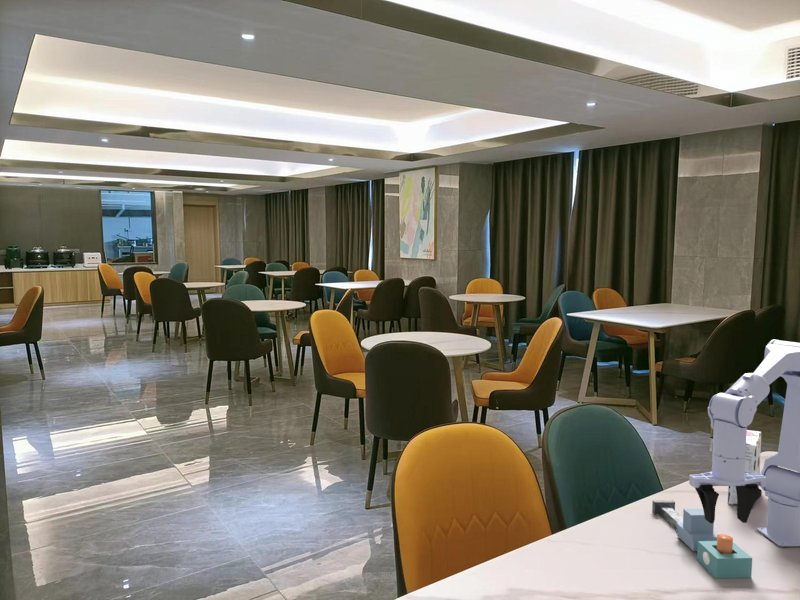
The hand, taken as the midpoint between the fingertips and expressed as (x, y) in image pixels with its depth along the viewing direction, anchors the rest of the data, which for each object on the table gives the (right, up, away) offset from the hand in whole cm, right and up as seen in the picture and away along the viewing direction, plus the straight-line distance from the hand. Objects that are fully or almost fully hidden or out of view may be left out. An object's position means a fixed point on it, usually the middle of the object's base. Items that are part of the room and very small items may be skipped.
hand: (725, 520), depth 120 cm
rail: (0, -9, +16) cm, 18 cm away
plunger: (0, -7, +1) cm, 7 cm away
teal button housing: (0, -10, +1) cm, 10 cm away
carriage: (0, -9, +11) cm, 14 cm away
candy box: (+24, -7, +36) cm, 43 cm away
